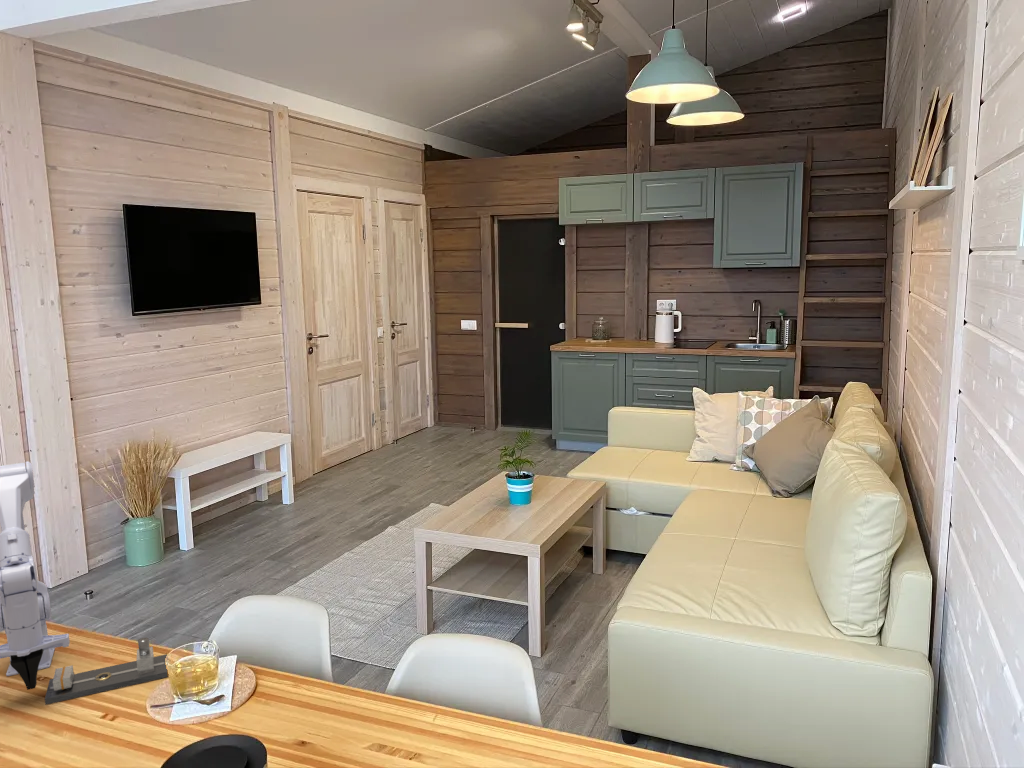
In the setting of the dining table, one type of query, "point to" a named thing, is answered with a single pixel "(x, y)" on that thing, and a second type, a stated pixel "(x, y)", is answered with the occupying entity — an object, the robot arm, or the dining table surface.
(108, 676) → the plate
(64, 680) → the block
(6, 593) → the robot arm
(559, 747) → the dining table surface
